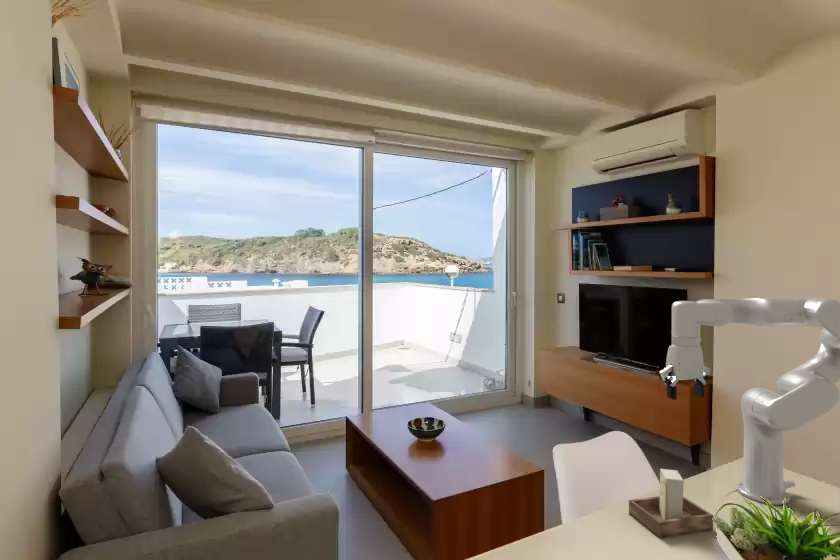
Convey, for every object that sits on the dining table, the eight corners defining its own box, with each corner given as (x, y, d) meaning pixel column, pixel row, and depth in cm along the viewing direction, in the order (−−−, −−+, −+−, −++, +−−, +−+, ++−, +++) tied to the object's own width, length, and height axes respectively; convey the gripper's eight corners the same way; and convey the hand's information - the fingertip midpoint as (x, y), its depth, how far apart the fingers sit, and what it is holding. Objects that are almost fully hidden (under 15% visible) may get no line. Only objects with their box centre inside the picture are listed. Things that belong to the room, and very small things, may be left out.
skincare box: (658, 511, 125) (659, 468, 125) (676, 513, 124) (677, 469, 124) (664, 524, 119) (665, 478, 119) (683, 526, 118) (684, 480, 118)
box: (678, 507, 129) (678, 493, 129) (713, 530, 118) (713, 515, 117) (628, 514, 125) (628, 500, 125) (659, 538, 114) (659, 522, 114)
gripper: (699, 338, 144) (699, 392, 144) (652, 341, 140) (651, 396, 141) (720, 342, 137) (719, 399, 137) (670, 344, 133) (670, 403, 133)
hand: (685, 397), depth 139 cm, fingers open, 9 cm apart
